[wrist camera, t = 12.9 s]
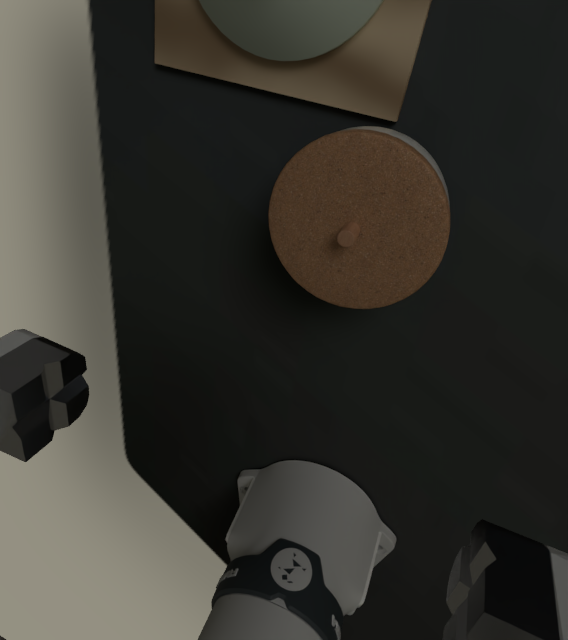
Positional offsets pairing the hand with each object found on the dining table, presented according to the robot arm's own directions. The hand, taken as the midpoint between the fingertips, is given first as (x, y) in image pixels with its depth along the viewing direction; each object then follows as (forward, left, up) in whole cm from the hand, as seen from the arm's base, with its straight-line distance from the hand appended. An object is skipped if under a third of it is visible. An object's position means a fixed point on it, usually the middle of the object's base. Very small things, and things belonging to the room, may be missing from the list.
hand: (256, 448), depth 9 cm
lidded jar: (-3, +2, -28) cm, 28 cm away
